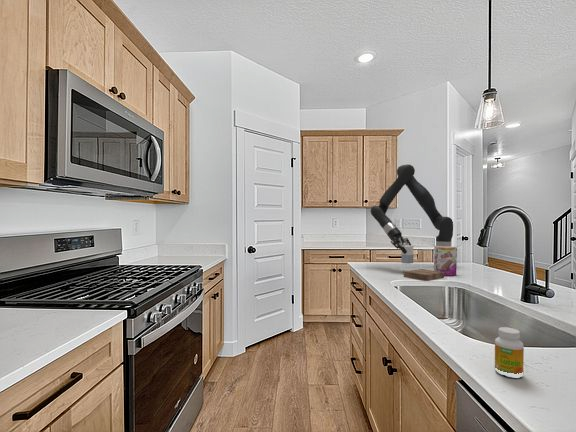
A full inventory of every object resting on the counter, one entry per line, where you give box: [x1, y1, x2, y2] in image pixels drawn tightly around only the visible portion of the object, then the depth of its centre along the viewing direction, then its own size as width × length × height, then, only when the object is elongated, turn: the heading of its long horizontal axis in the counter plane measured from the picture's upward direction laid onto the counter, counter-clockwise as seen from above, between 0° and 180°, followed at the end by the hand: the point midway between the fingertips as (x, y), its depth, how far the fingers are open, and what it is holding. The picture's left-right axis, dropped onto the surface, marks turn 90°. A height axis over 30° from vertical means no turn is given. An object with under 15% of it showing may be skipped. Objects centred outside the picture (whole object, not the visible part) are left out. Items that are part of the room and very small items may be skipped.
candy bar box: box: [433, 245, 458, 277], centre depth 198 cm, size 11×5×16 cm, turn 84°
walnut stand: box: [403, 268, 445, 282], centre depth 192 cm, size 16×14×3 cm
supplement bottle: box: [494, 326, 525, 374], centre depth 77 cm, size 5×5×10 cm
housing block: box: [400, 245, 414, 265], centre depth 205 cm, size 5×4×10 cm
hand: (408, 252), depth 204 cm, fingers closed on housing block, 5 cm apart
